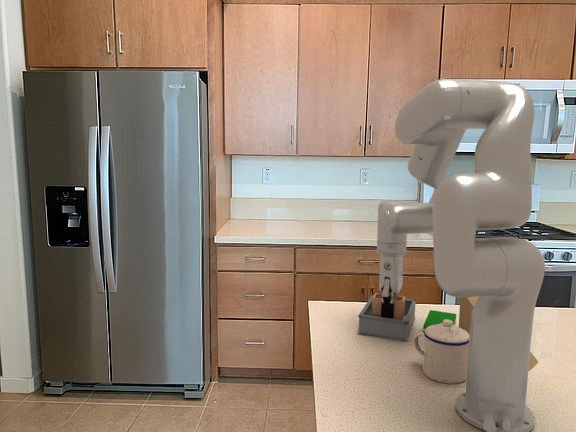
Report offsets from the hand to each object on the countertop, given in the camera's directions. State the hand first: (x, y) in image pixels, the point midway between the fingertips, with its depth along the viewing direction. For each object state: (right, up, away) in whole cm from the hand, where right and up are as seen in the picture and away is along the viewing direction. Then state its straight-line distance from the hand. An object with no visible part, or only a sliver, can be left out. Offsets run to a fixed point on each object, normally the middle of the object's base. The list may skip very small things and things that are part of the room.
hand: (388, 314), depth 119 cm
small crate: (0, 0, 0) cm, 0 cm away
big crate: (0, -3, 0) cm, 3 cm away
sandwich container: (+21, -6, -17) cm, 28 cm away
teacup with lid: (+5, -7, -25) cm, 26 cm away
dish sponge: (+14, -4, 0) cm, 15 cm away
